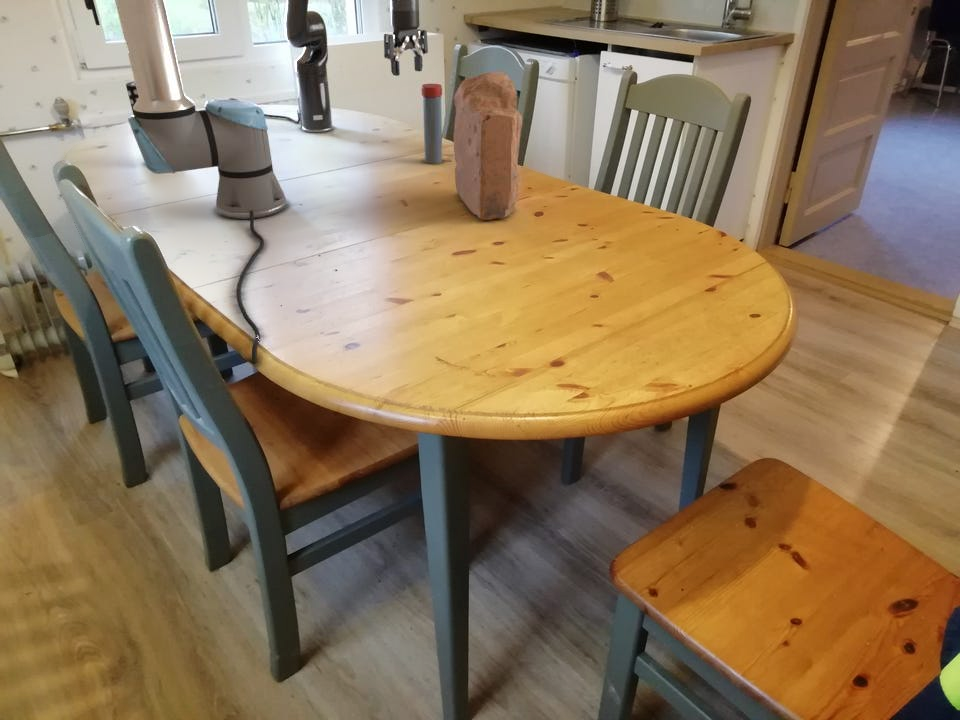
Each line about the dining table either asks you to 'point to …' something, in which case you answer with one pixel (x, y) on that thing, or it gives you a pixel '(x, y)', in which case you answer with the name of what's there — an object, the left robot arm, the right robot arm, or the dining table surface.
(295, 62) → the right robot arm
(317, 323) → the dining table surface
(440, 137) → the bottle
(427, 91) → the lid
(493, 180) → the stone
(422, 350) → the dining table surface
